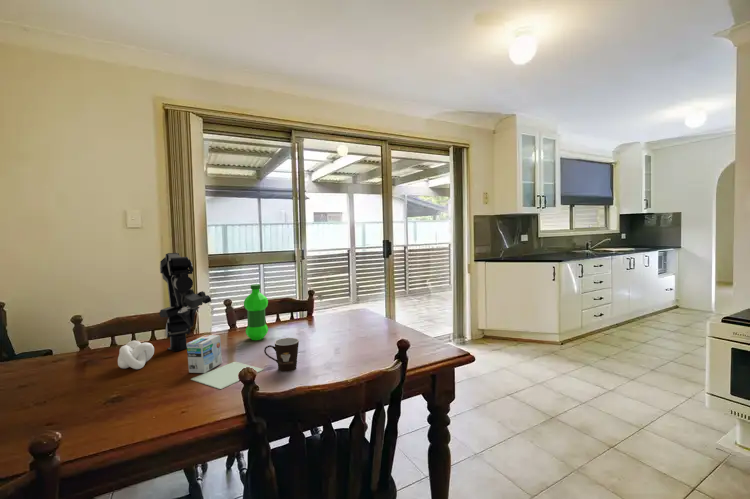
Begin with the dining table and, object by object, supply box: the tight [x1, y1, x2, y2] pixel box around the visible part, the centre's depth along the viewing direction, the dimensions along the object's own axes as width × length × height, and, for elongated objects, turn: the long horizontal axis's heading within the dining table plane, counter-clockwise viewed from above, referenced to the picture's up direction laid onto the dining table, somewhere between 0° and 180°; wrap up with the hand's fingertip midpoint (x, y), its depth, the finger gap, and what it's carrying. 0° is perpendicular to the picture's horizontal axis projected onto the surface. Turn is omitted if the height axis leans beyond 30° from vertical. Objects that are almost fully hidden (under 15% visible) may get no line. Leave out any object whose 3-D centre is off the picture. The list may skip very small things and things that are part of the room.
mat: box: [190, 361, 265, 390], centre depth 129 cm, size 16×18×1 cm
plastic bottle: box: [243, 283, 269, 341], centre depth 169 cm, size 10×10×25 cm
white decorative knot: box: [117, 339, 155, 370], centre depth 137 cm, size 11×12×9 cm
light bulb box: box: [186, 334, 223, 374], centre depth 134 cm, size 11×7×11 cm, turn 168°
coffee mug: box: [263, 337, 300, 373], centre depth 134 cm, size 12×9×10 cm
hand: (191, 326), depth 146 cm, fingers closed
